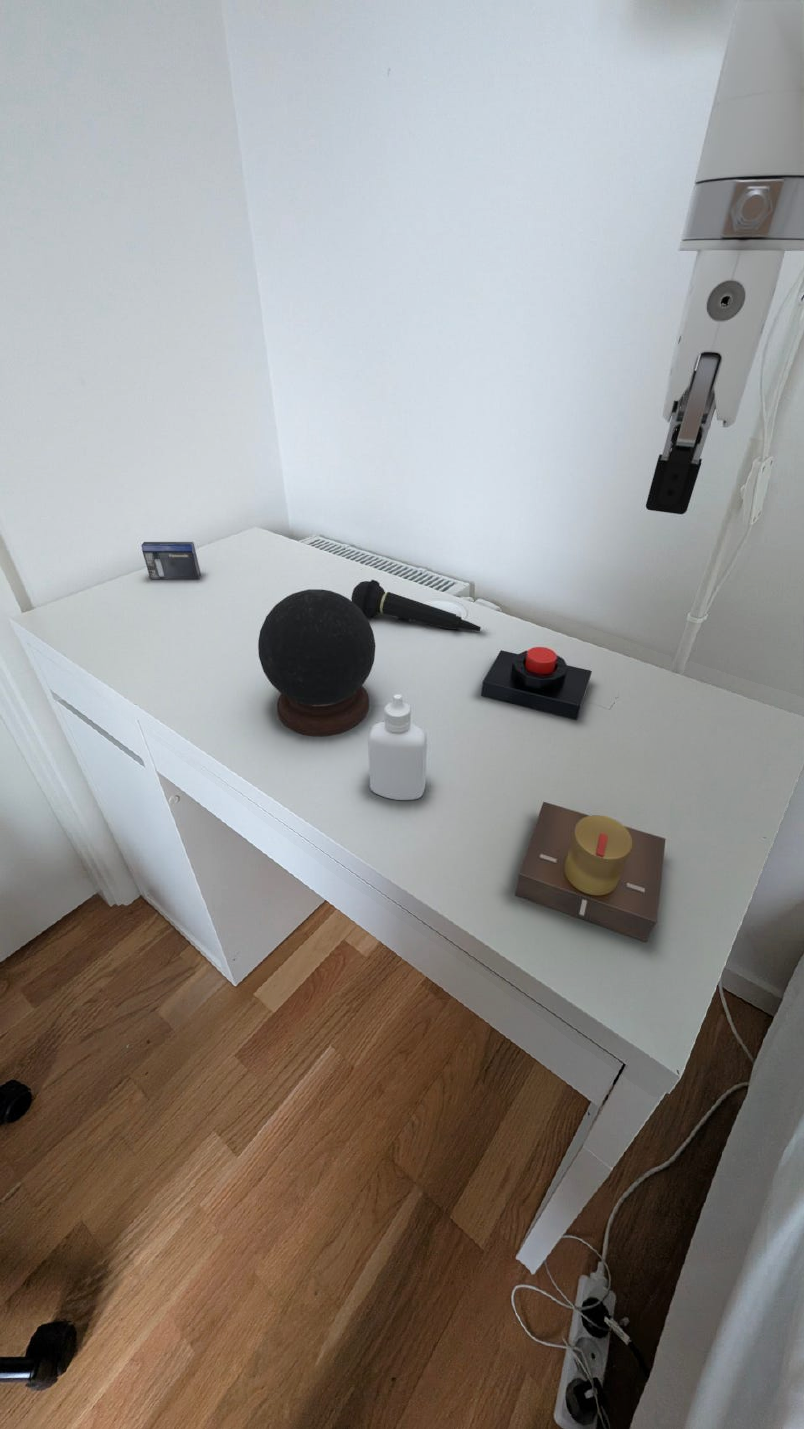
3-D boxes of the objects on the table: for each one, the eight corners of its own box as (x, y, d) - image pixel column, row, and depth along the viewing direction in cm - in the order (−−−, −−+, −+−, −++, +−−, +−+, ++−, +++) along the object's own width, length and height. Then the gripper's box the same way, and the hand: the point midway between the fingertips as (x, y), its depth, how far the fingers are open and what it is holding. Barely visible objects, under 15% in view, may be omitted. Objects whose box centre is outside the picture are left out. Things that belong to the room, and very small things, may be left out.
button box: (588, 684, 75) (595, 658, 72) (576, 720, 69) (583, 693, 67) (498, 663, 79) (502, 638, 76) (480, 695, 73) (483, 669, 70)
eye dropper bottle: (391, 765, 63) (390, 674, 55) (431, 789, 60) (436, 697, 53) (363, 787, 60) (358, 695, 53) (404, 813, 57) (405, 720, 50)
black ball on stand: (312, 665, 78) (300, 560, 69) (397, 694, 73) (396, 585, 64) (246, 718, 69) (222, 606, 60) (337, 756, 64) (326, 639, 55)
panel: (656, 859, 53) (666, 837, 51) (644, 962, 46) (655, 940, 44) (538, 822, 57) (543, 799, 55) (508, 911, 49) (513, 889, 47)
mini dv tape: (150, 579, 98) (140, 545, 94) (153, 575, 99) (143, 541, 96) (198, 579, 98) (190, 545, 95) (201, 575, 99) (193, 541, 96)
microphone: (477, 643, 88) (355, 609, 91) (487, 607, 86) (362, 573, 89) (472, 652, 83) (343, 615, 86) (483, 613, 81) (350, 577, 84)
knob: (569, 845, 51) (580, 805, 48) (621, 861, 49) (636, 822, 46) (559, 884, 48) (570, 845, 44) (614, 903, 46) (630, 864, 43)
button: (557, 662, 72) (559, 650, 71) (551, 677, 70) (553, 665, 69) (529, 656, 73) (531, 644, 72) (521, 670, 71) (523, 658, 70)
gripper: (828, 216, 31) (712, 549, 42) (802, 225, 41) (715, 489, 53) (677, 218, 33) (606, 533, 44) (690, 227, 44) (629, 479, 55)
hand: (665, 508), depth 49 cm, fingers closed
